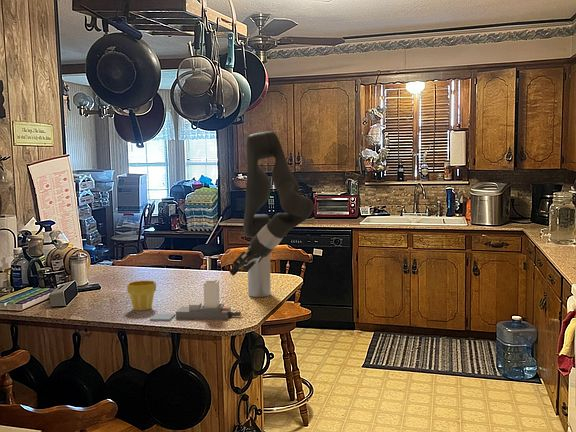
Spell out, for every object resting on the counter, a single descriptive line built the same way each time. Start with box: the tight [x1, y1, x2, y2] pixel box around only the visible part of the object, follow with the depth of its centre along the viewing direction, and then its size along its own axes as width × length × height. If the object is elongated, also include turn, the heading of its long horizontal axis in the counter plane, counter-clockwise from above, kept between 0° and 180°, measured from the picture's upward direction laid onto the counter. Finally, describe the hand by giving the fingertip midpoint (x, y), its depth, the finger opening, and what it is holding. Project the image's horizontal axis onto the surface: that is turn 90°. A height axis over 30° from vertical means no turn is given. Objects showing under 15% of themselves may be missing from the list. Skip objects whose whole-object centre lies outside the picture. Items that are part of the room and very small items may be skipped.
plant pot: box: [126, 280, 157, 311], centre depth 213 cm, size 10×10×10 cm
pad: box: [149, 313, 176, 322], centre depth 199 cm, size 7×7×1 cm
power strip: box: [175, 301, 242, 320], centre depth 200 cm, size 7×22×4 cm, turn 85°
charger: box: [203, 278, 221, 308], centre depth 200 cm, size 4×4×11 cm
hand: (238, 271), depth 194 cm, fingers open, 8 cm apart
